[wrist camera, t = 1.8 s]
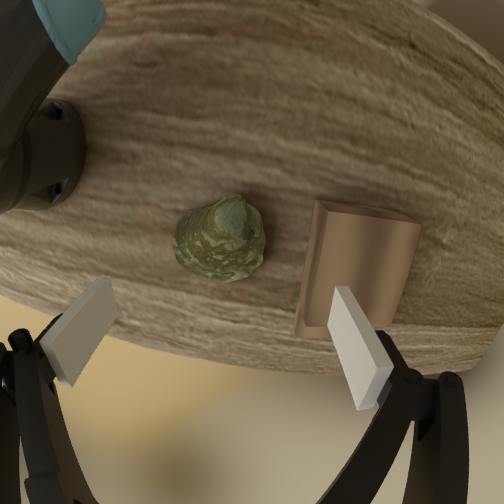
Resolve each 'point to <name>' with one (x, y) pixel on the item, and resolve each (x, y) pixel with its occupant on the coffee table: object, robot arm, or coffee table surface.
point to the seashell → (220, 240)
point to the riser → (354, 263)
